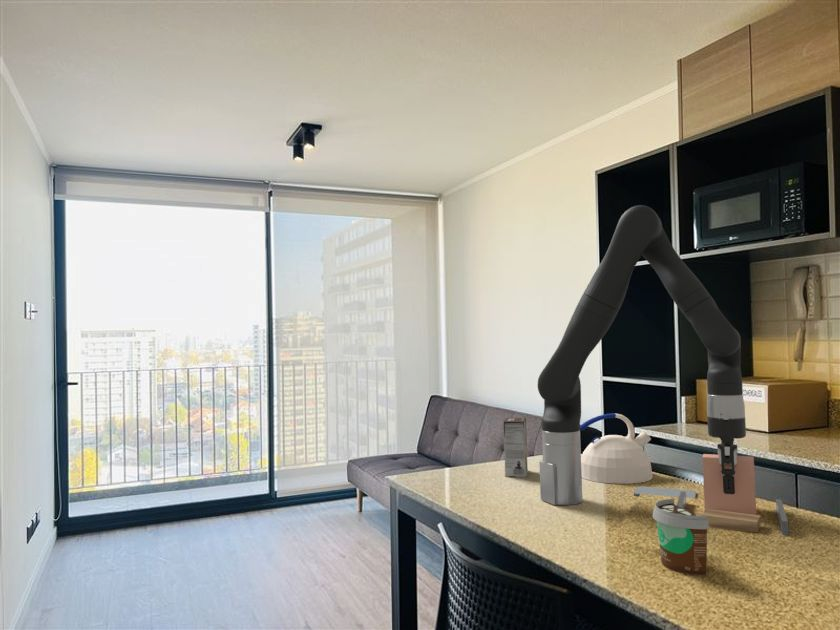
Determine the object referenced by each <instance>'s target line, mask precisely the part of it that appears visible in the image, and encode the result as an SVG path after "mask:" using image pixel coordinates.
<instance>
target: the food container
mask: <svg viewBox="0 0 840 630" xmlns="http://www.w3.org/2000/svg"><path fill="white" fill-rule="evenodd" d="M652 518H653V519H654V520H655V521H656V524H657V525H656V526H657V534H658V541H659V551H660V560H661V564H662V566H663V567H665V568H667V569H668V570H671V571H674V572H677V573H680V574H686V575H695V576H707V569H708V567H707V565H708V562H707V561H708V560H707V558H708V557H707V555H708V530H710V527H709V524H708V520H707V516H702V515H696V514H695V513H694V512H692V511H691V510H690V509H688V508H685V509H684V508H680V507H678V506H677V504H675V498H667V499H662V500H658V501H657V502H655V506H654V507H653V511H652Z"/></svg>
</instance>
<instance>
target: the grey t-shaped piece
mask: <svg viewBox="0 0 840 630" xmlns="http://www.w3.org/2000/svg"><path fill="white" fill-rule="evenodd" d="M681 491H682V492H686V499H688V498H689V499H696V497H697V490H692V489H691V490H690V489H689V490H688V489H677V488H665V487H652V486H642V485H641V486H637V487H636V488H635V491H634V492H633V496H635V497H640V496H641V495H652V496H664V497H675V498H677V497H678V498H679V496H680V493H681Z"/></svg>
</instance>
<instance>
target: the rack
mask: <svg viewBox="0 0 840 630" xmlns="http://www.w3.org/2000/svg"><path fill="white" fill-rule="evenodd" d="M676 505H677V506H678V507H680V508H684V509H686V505H687V498H686V492H682V491H681V493H680V496H679V497H678V500H677V503H676ZM775 511H776V515H777V519H778V523H779V527H780V530H781V534H782V536H787V537H788V536H790V535H789V521H788V517H787V514H786V512H785V511H786V510H785V507H784V504H783V501H782V499H780V498H778V499H777V498H775Z"/></svg>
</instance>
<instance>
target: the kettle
mask: <svg viewBox="0 0 840 630" xmlns="http://www.w3.org/2000/svg"><path fill="white" fill-rule="evenodd" d="M614 418H615V419H616V418H617V419H620V420H622V421H623V422H624V423H625V424H626V426H627V430H628V431H627V432H628V433H627V435H626V436H623V435H620V434H619V435H618V434H608V435H606V434H605V435H603V436H596V437H594V438H593V439H592V440H591V442H590V443H589V444H588V445H587V446H586V448H585V449H584V451H583V452H582V453H581V474H582V479H584V480H587V481H591V482H595V483H601V484H610V485H612V484H613V485H632V484H631V483H636V484H641V482H643V483H646V481H647V482H649V481H651V480H652V479H653V471H652V465H651V464H652V463H651V460H650V458H649V456H648V454H647V452H646V451H645V450H644V449H643V448H644V447H645V446H647V444H648V443H649V442H650V441H652V438H651V437H650V435H649V434H648V433H647V432H645V431H642V430H641V433H640V434H638V435H637V436H636V431H635V426H634V424H633V422H632V421H631V420H630V419H629V418H628V417H626V416H625V415H623V414H620V413H615V412H614V413H613V412H611V413H604V414H601V415H597V416H595V417H592V418H590V419H588V420H586V421H584V422H583V423H582V424H580V431H584V430H586V428H588V427H589V426H591V425H593V424H594V423H597V422H599V421H603V420H606V419H614ZM635 436H636V437H635Z"/></svg>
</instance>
